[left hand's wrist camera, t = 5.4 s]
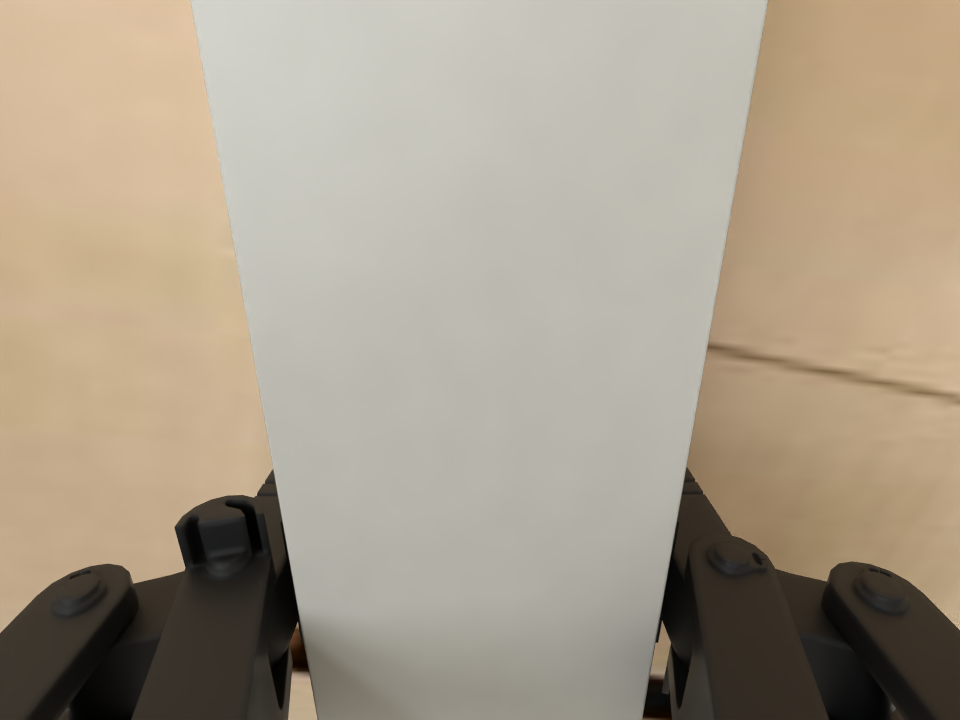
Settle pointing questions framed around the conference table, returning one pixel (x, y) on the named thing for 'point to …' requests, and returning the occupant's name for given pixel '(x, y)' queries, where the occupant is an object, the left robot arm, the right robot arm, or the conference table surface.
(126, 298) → the conference table surface
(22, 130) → the conference table surface
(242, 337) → the conference table surface
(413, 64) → the post
